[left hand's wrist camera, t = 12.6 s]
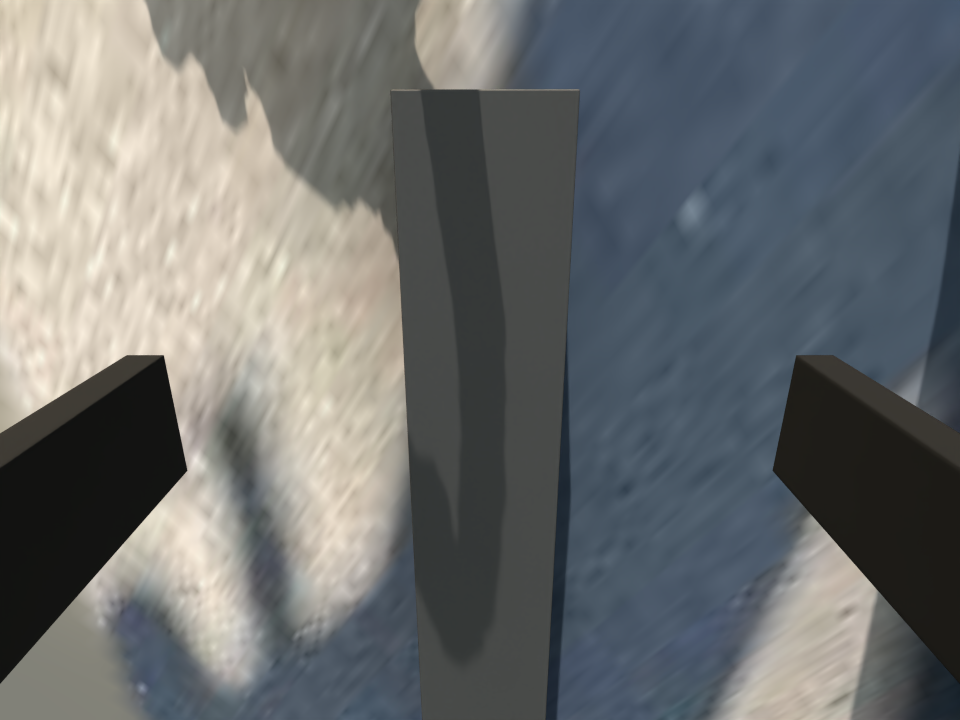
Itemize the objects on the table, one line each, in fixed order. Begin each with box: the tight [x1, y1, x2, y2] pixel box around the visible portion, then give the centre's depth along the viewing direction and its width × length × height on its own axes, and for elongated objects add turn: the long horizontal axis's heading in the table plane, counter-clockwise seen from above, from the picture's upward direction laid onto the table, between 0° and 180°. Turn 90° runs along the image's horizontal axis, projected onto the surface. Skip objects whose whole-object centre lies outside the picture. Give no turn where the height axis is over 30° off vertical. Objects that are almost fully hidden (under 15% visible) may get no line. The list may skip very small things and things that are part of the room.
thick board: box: [391, 89, 580, 720], centre depth 45 cm, size 72×10×7 cm, turn 0°
